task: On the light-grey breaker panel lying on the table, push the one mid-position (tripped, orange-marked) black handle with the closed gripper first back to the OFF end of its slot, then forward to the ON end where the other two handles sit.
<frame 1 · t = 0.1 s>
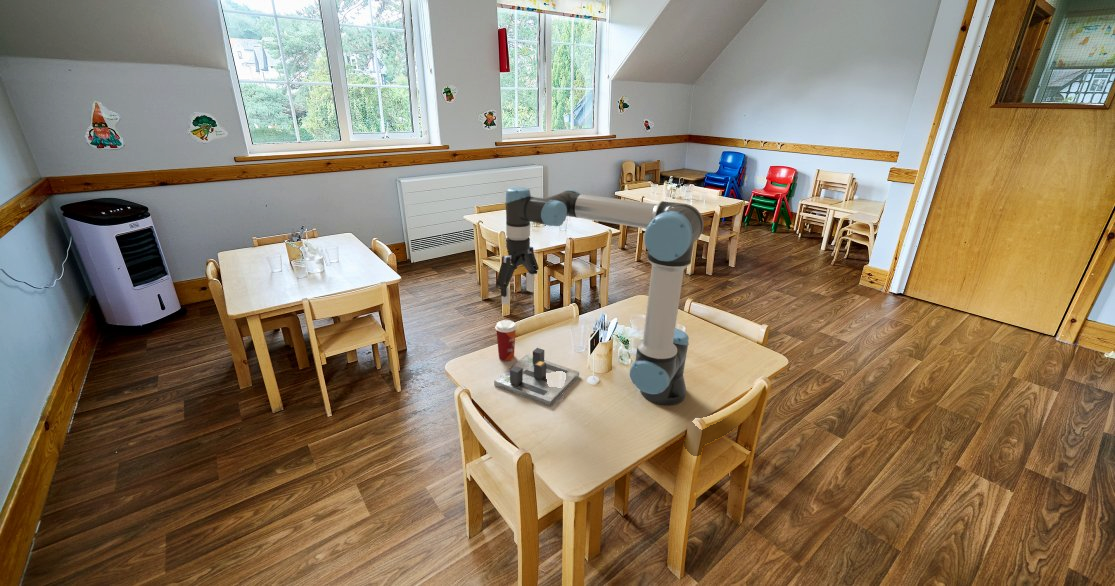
hand: (518, 297, 159), 28 cm above the table, fingers open, 13 cm apart
paper cup: (506, 357, 176), on the table
breaker tripped: (540, 369, 160), point 5 cm above the table, slide at 0.0 cm
breaker a: (538, 356, 168), point 5 cm above the table, slide at 5.0 cm
panel: (537, 381, 162), on the table
breaker c: (516, 375, 157), point 5 cm above the table, slide at 5.0 cm
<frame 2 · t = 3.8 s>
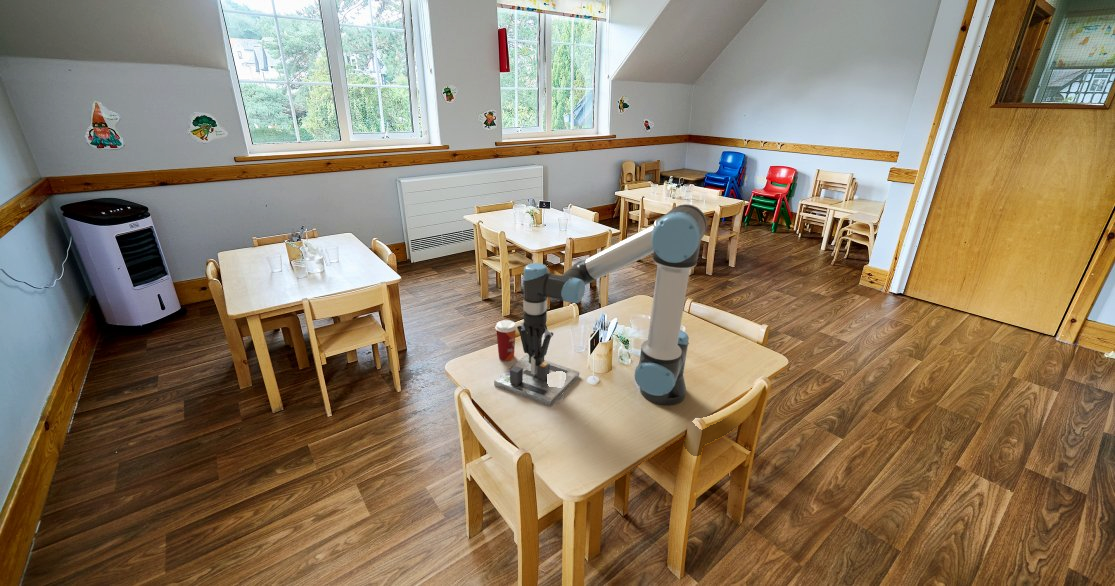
hand: (534, 372, 162), 3 cm above the table, fingers closed
breaker tripped: (543, 371, 159), point 5 cm above the table, slide at -1.4 cm, touching gripper
everything else where it was.
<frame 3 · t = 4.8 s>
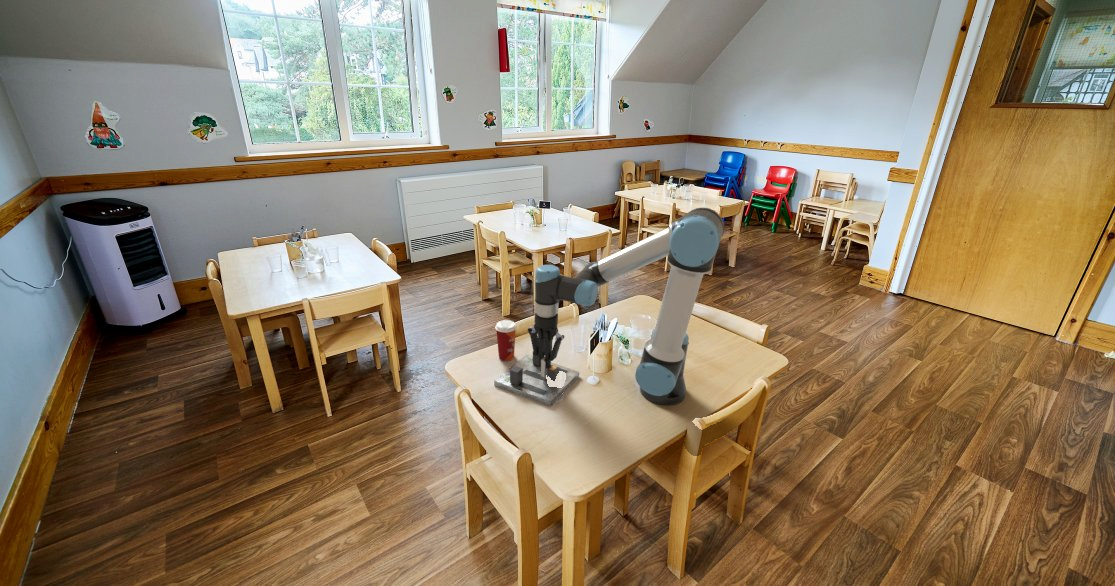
hand: (544, 374, 160), 4 cm above the table, fingers closed
breaker tripped: (553, 374, 158), point 5 cm above the table, slide at -5.1 cm, touching gripper
everything else where it was.
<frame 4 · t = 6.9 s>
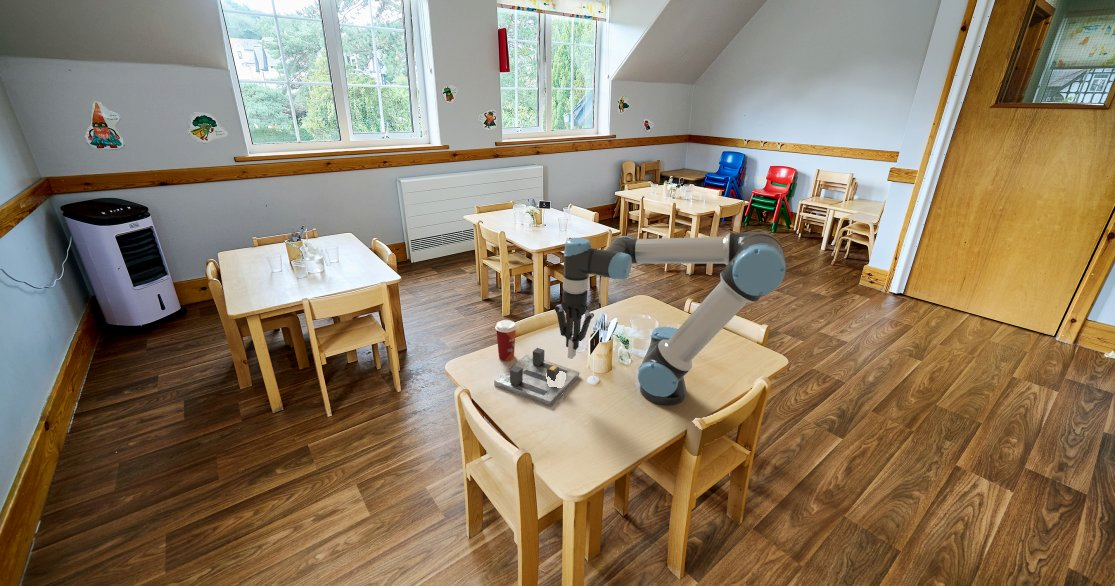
hand: (571, 356, 151), 14 cm above the table, fingers closed
breaker tripped: (553, 374, 158), point 5 cm above the table, slide at -5.1 cm
everything else where it was.
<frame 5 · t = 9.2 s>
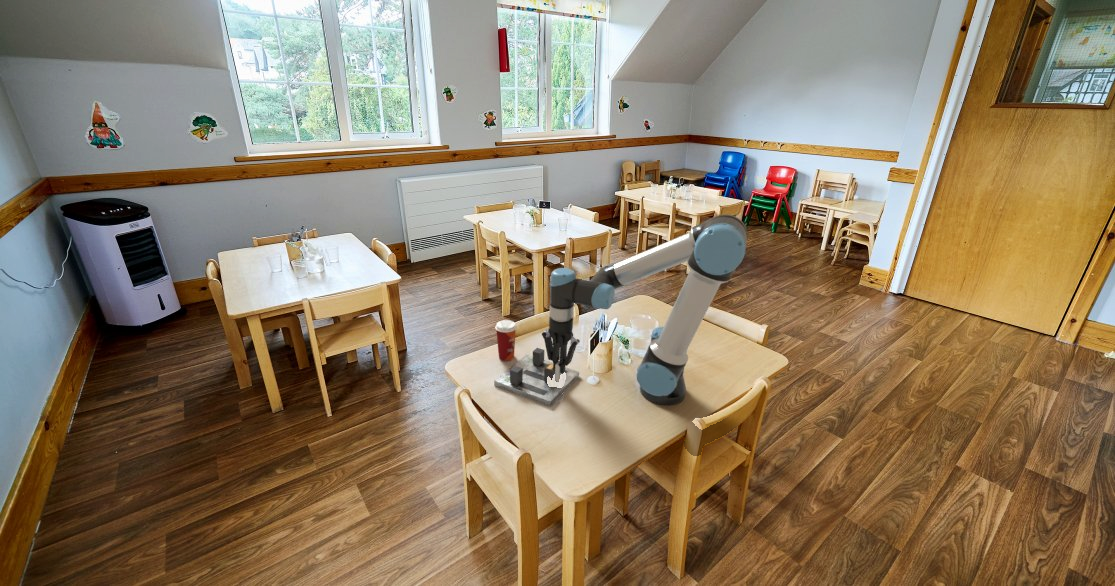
hand: (558, 379, 157), 4 cm above the table, fingers closed
breaker tripped: (550, 373, 158), point 5 cm above the table, slide at -4.0 cm, touching gripper
everything else where it was.
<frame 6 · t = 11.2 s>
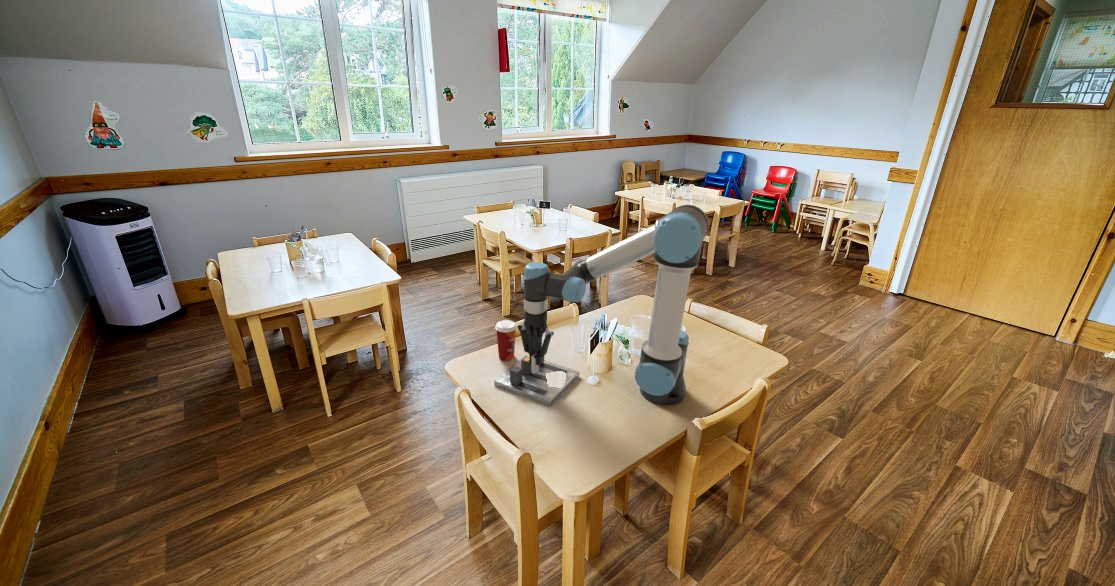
hand: (535, 371, 161), 4 cm above the table, fingers closed
breaker tripped: (527, 365, 162), point 5 cm above the table, slide at 5.2 cm, touching gripper
everything else where it was.
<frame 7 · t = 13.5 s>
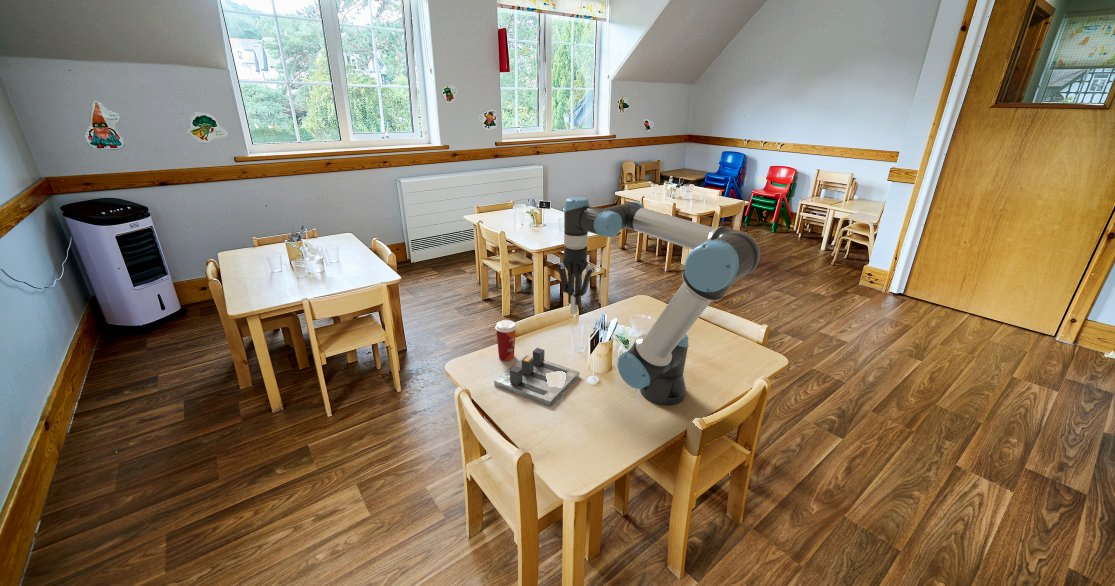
hand: (574, 312, 160), 23 cm above the table, fingers closed
breaker tripped: (527, 365, 162), point 5 cm above the table, slide at 5.1 cm
everything else where it was.
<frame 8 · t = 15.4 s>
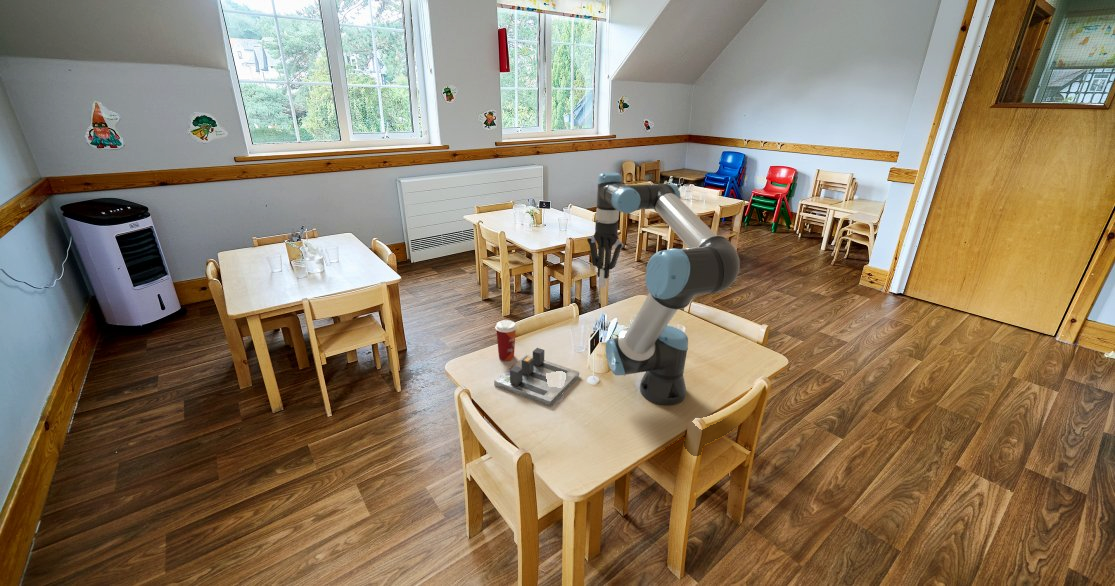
hand: (602, 285, 166), 29 cm above the table, fingers closed
nothing on the table moved.
at the end: breaker tripped slide at 5.1 cm; breaker a slide at 5.0 cm; breaker c slide at 5.0 cm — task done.
